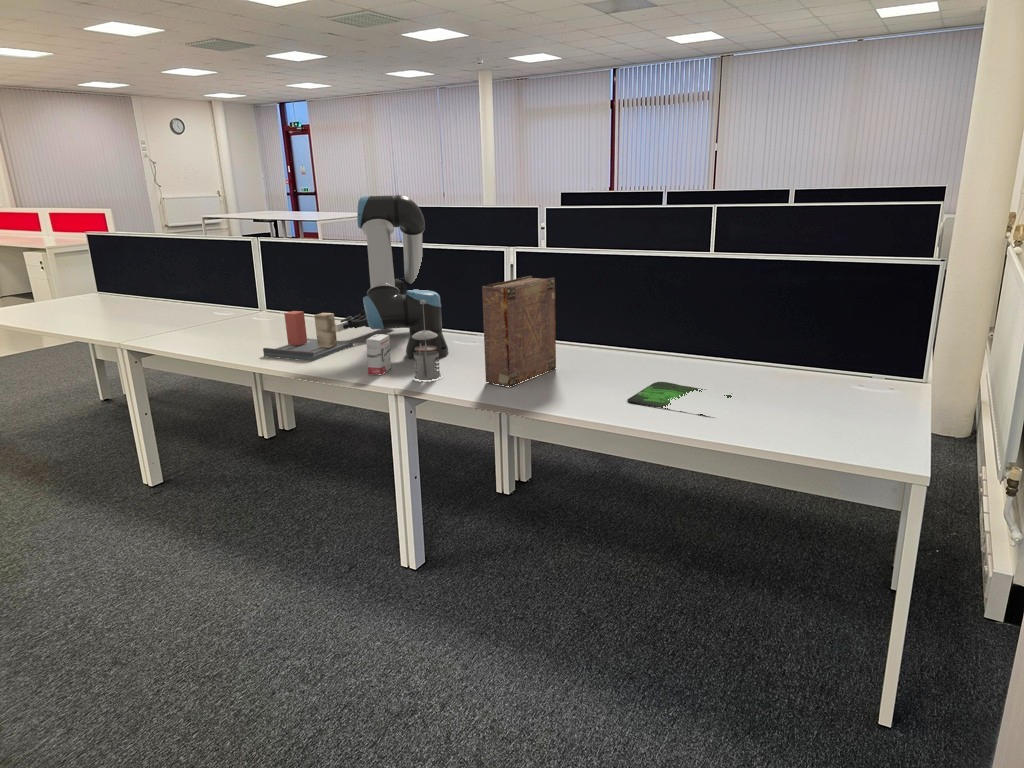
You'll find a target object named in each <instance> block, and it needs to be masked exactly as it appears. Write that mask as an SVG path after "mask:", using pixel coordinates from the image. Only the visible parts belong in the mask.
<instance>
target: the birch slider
mask: <svg viewBox="0 0 1024 768" xmlns="http://www.w3.org/2000/svg"><path fill="white" fill-rule="evenodd" d="M313 317H314V326H315V332H316V333H315V334H316V339H317V344H318V347H323V348H330V347H333V346H336V345H337V341H338V338H337V332H336V328H335V324H336V321H335V320H336V319H335V313H333V312H332V313H331V312H321V313H317V314H314V316H313Z"/></svg>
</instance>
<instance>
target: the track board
mask: <svg viewBox="0 0 1024 768" xmlns="http://www.w3.org/2000/svg"><path fill="white" fill-rule="evenodd" d="M351 346H352V347H353V346H354V342H353V341H343V340H341V341H340V340H337V345H336V346H333V347H330V348H323V347H318V344H317V338H308V337H307V343H304V344H301V345H289V344H288V343H287V344H286V345H282V346H279V347H276V348H270V347H263V348H262V351H263V357H265V356H268V357H267V358H275V357H280V358H279V359H285V358H289V360H295V359H298V361H305V360H307V362H309V361H310V362H314V361H316V360H319V359H321V358H322V359H323V358H325V357H328V356H329V355H333V354H336V353H337V352H340V350H341V351H344V350H346V349H348V347H349V348H351ZM345 348H346V349H345ZM343 349H344V350H343Z"/></svg>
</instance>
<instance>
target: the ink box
mask: <svg viewBox="0 0 1024 768" xmlns="http://www.w3.org/2000/svg"><path fill="white" fill-rule="evenodd" d="M365 343H366V356H367V361H366V362H367V373H368V374H377V375H376V376H379V375H378V374H383V373H384V372H385V373H387V372H388V371H390V370H391V369H392V363H391V347H390V344H391V343H390V334H383V333H381V334H380V333H379V334H378V333H376V334H374V335H372V336H370V337H368V338H367V339H366V341H365ZM390 368H391V369H390ZM389 369H390V370H389ZM387 370H388V371H387ZM386 371H387V372H386ZM385 373H384V374H385ZM368 374H367V375H368ZM384 374H383V375H384Z"/></svg>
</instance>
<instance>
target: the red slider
mask: <svg viewBox="0 0 1024 768" xmlns="http://www.w3.org/2000/svg"><path fill="white" fill-rule="evenodd" d="M283 314H284V323H285V329H286V339H287V345H288V344H289V345H301V344H304V343H307V338H308V337H307V335H308V334H307V328H306V319H305V312H304V311H302V310H301V311H299V310H292V311H287V312H284V313H283Z"/></svg>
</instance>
